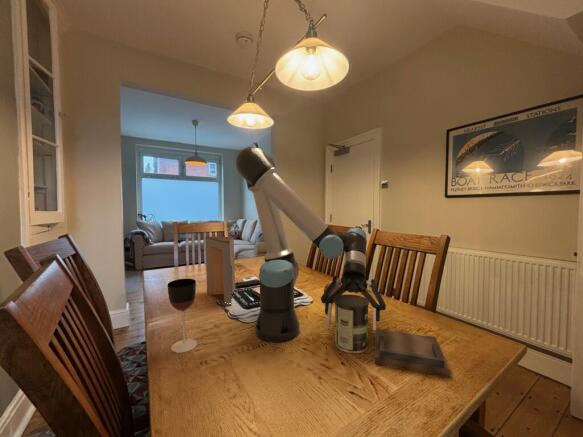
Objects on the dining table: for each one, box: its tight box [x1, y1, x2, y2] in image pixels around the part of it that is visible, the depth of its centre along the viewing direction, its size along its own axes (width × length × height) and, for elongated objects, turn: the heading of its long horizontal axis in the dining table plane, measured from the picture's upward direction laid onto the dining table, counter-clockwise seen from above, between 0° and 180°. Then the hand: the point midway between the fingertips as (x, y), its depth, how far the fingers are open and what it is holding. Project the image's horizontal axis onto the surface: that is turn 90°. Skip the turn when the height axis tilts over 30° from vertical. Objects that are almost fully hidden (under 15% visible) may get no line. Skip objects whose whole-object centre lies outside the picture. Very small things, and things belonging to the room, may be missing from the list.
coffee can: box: [334, 293, 370, 354], centre depth 79 cm, size 10×10×14 cm
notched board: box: [374, 328, 451, 378], centre depth 75 cm, size 18×16×4 cm
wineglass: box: [167, 278, 198, 354], centre depth 79 cm, size 8×9×20 cm
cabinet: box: [204, 236, 236, 308], centre depth 119 cm, size 21×10×28 cm, turn 42°
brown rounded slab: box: [323, 279, 342, 304], centre depth 115 cm, size 15×3×8 cm, turn 148°
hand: (350, 328), depth 77 cm, fingers open, 13 cm apart
